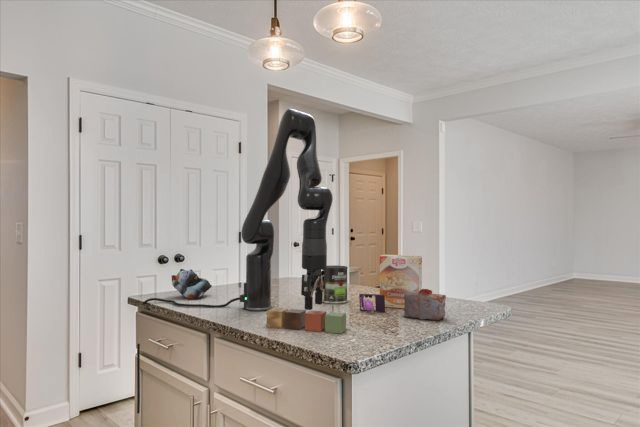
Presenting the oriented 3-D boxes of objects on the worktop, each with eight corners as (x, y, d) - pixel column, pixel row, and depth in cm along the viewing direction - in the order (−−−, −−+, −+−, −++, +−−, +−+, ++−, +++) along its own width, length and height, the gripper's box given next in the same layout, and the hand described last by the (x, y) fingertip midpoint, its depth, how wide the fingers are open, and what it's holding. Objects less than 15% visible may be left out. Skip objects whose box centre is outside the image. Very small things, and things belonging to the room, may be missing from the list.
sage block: (325, 332, 131) (325, 315, 131) (330, 328, 136) (330, 311, 136) (341, 333, 130) (341, 316, 130) (346, 329, 134) (346, 313, 134)
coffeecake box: (379, 306, 170) (379, 255, 170) (383, 303, 176) (383, 254, 177) (419, 310, 164) (418, 256, 164) (422, 306, 171) (422, 255, 171)
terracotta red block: (305, 330, 134) (305, 313, 134) (310, 326, 138) (311, 310, 138) (320, 331, 132) (320, 314, 132) (326, 327, 137) (326, 311, 137)
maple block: (266, 326, 138) (266, 310, 138) (273, 323, 142) (273, 307, 142) (281, 328, 136) (281, 311, 136) (288, 324, 141) (288, 308, 141)
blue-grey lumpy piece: (196, 300, 181) (179, 270, 181) (177, 309, 187) (160, 280, 186) (217, 285, 195) (201, 257, 194) (199, 294, 200) (183, 267, 199)
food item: (448, 317, 151) (448, 288, 151) (443, 322, 144) (442, 291, 144) (408, 313, 157) (408, 285, 157) (401, 318, 150) (401, 288, 150)
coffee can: (352, 302, 179) (352, 267, 179) (329, 304, 174) (329, 268, 174) (339, 298, 188) (339, 264, 188) (317, 300, 183) (317, 265, 184)
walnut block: (284, 328, 136) (284, 311, 136) (290, 324, 140) (291, 308, 140) (299, 329, 134) (299, 313, 134) (305, 326, 139) (305, 310, 139)
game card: (384, 293, 160) (359, 292, 162) (383, 301, 155) (357, 299, 157) (385, 310, 162) (360, 309, 164) (383, 318, 157) (358, 316, 159)
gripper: (311, 251, 143) (310, 301, 143) (293, 254, 130) (292, 310, 130) (333, 251, 141) (332, 303, 141) (317, 255, 127) (317, 312, 127)
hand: (313, 306), depth 135 cm, fingers open, 8 cm apart
